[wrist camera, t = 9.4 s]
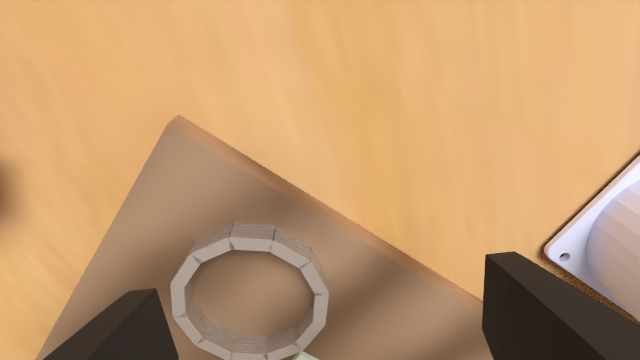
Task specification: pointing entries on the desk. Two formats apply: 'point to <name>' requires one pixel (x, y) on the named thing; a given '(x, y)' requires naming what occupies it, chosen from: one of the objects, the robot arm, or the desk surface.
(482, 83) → the desk surface
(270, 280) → the walnut board
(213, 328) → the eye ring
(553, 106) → the desk surface
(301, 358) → the sage pad
